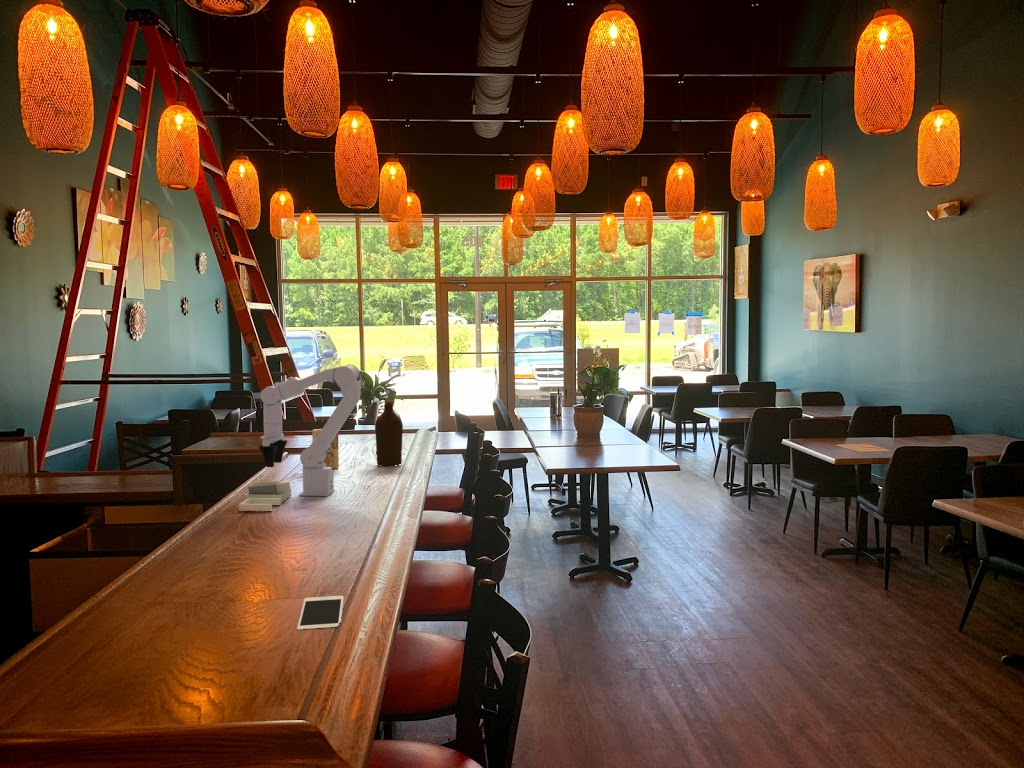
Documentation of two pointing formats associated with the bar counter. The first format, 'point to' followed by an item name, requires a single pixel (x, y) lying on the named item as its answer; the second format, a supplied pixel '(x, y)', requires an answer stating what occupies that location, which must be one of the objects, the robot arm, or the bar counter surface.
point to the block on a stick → (269, 488)
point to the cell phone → (321, 612)
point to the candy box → (329, 450)
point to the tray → (269, 496)
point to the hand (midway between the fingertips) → (274, 464)
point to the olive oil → (388, 437)
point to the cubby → (259, 503)
